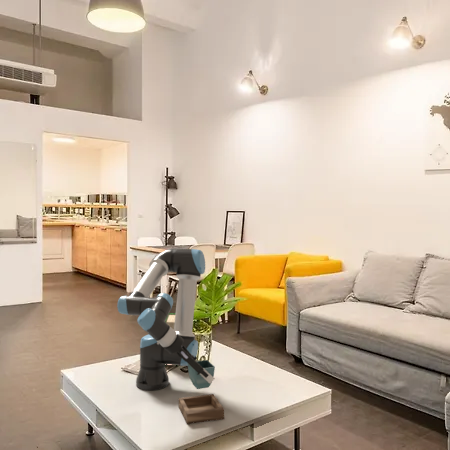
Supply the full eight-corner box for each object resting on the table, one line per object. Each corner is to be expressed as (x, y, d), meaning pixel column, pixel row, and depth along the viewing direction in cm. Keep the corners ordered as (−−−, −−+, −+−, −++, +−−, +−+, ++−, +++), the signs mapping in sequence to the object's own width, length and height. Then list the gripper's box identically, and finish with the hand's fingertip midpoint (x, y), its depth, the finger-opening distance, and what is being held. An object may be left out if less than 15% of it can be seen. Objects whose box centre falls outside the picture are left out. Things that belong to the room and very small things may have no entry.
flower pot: (194, 392, 174) (194, 369, 174) (186, 384, 182) (187, 362, 182) (215, 389, 177) (215, 366, 177) (206, 381, 186) (207, 359, 185)
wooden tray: (178, 407, 185) (178, 398, 185) (213, 403, 190) (213, 393, 190) (187, 424, 171) (187, 414, 171) (224, 419, 176) (224, 409, 176)
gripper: (158, 339, 185) (195, 373, 190) (169, 356, 164) (209, 394, 170) (171, 326, 186) (207, 360, 192) (183, 341, 165) (223, 379, 171)
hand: (208, 376), depth 181 cm, fingers closed on flower pot, 9 cm apart
